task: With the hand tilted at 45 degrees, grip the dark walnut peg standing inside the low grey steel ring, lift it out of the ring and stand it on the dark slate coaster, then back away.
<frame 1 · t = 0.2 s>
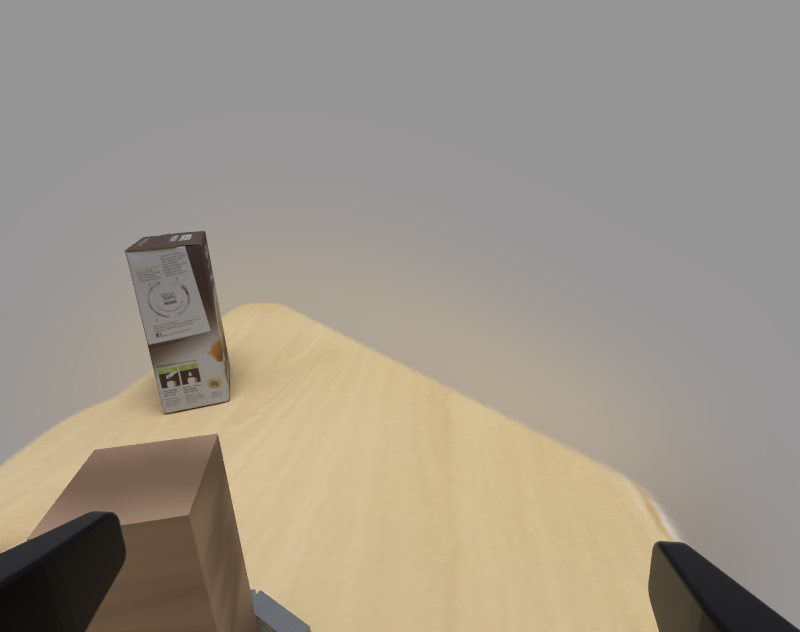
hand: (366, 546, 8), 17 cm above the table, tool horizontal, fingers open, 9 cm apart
walnut peg: (176, 621, 18), in the steel ring
coffee box: (200, 390, 51), on the table
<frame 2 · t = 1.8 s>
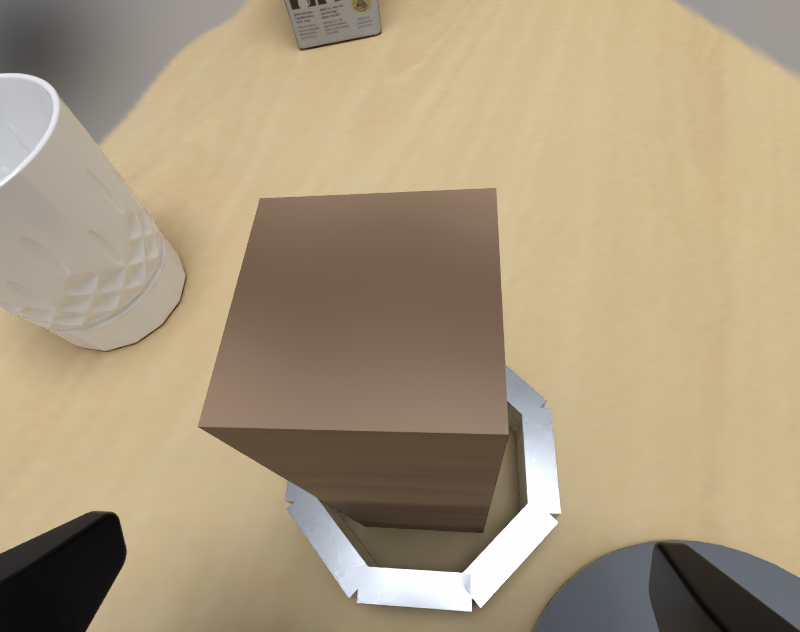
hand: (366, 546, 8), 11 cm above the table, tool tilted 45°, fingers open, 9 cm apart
walnut peg: (406, 418, 13), in the steel ring
white cup: (127, 296, 25), on the table
coffee box: (339, 12, 37), on the table
steel ring: (425, 469, 19), on the table
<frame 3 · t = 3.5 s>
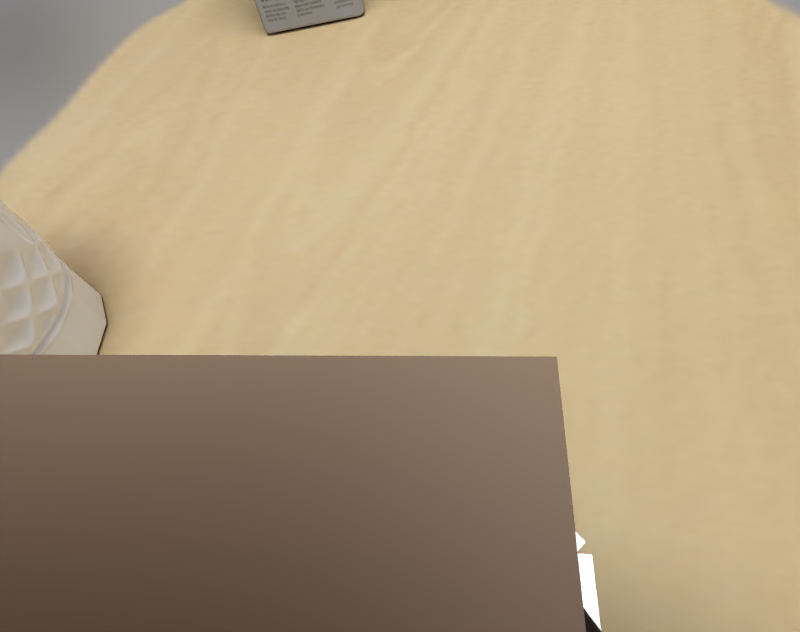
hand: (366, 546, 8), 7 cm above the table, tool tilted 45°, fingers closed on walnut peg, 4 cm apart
white cup: (33, 348, 20), on the table
steel ring: (408, 618, 13), on the table
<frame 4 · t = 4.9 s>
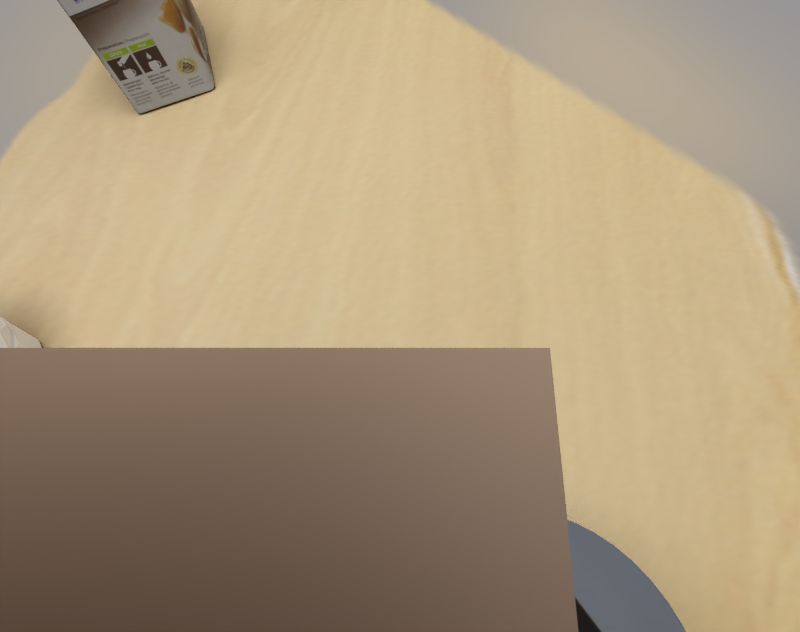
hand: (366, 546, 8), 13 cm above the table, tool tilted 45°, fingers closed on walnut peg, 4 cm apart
coffee box: (174, 71, 38), on the table
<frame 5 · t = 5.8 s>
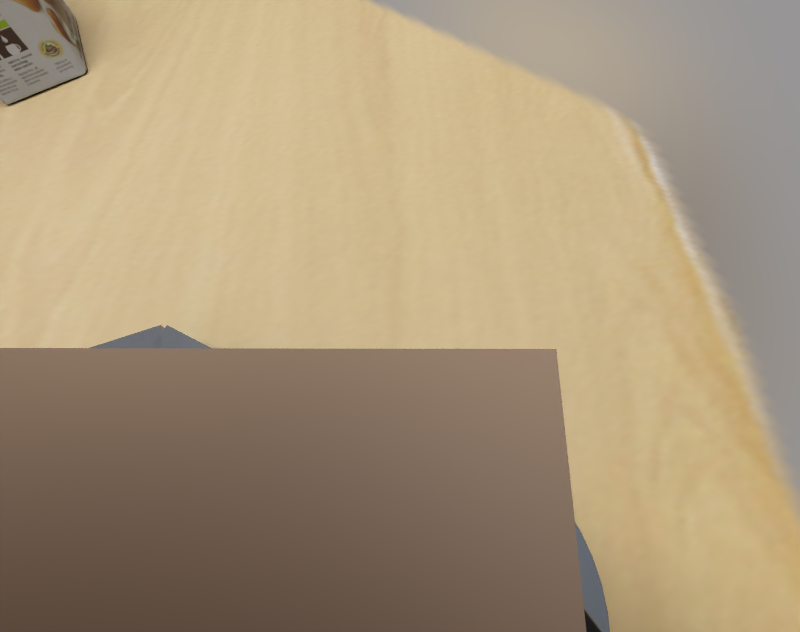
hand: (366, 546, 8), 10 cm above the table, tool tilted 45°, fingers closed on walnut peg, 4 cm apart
slate coaster: (419, 605, 16), on the table
coffee box: (46, 61, 37), on the table
steel ring: (158, 456, 20), on the table
when the fingers open (8 cm above the table, at t = 6.5 s): walnut peg stays where it is, resting on slate coaster.
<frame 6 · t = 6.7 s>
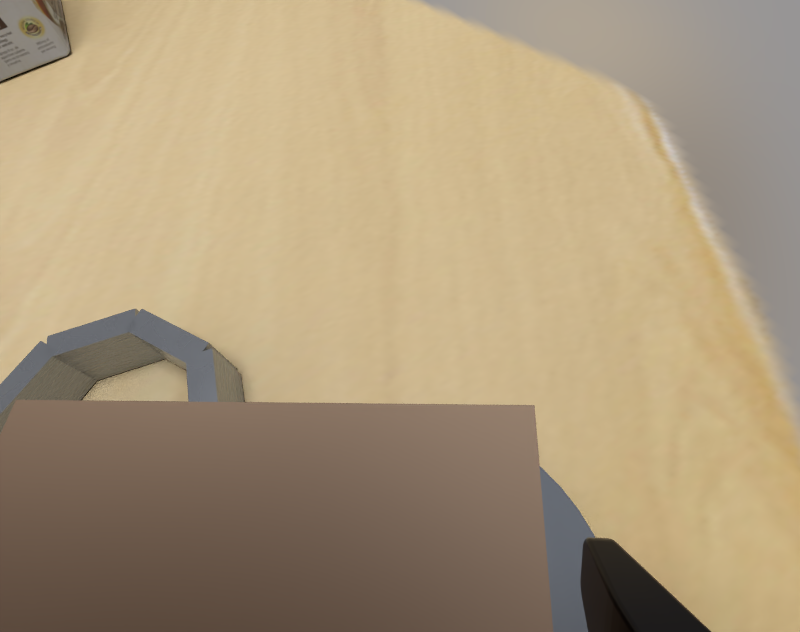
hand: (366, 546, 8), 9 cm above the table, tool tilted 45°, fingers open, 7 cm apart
slate coaster: (413, 614, 15), on the table
coffee box: (28, 43, 35), on the table
steel ring: (131, 451, 18), on the table
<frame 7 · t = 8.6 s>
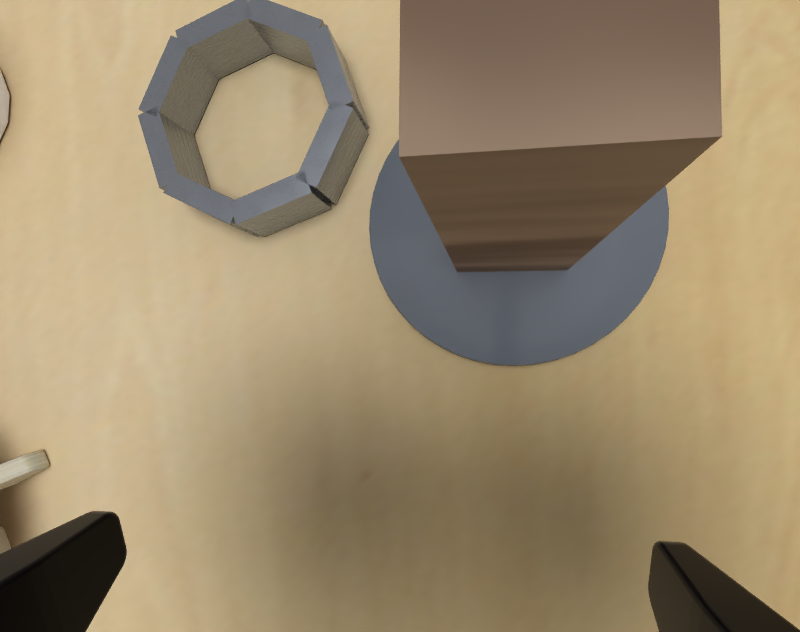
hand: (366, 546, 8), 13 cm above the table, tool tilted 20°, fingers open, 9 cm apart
walnut peg: (521, 160, 13), on the slate coaster, point 7 cm above the table
slate coaster: (510, 222, 20), on the table
steel ring: (268, 133, 23), on the table
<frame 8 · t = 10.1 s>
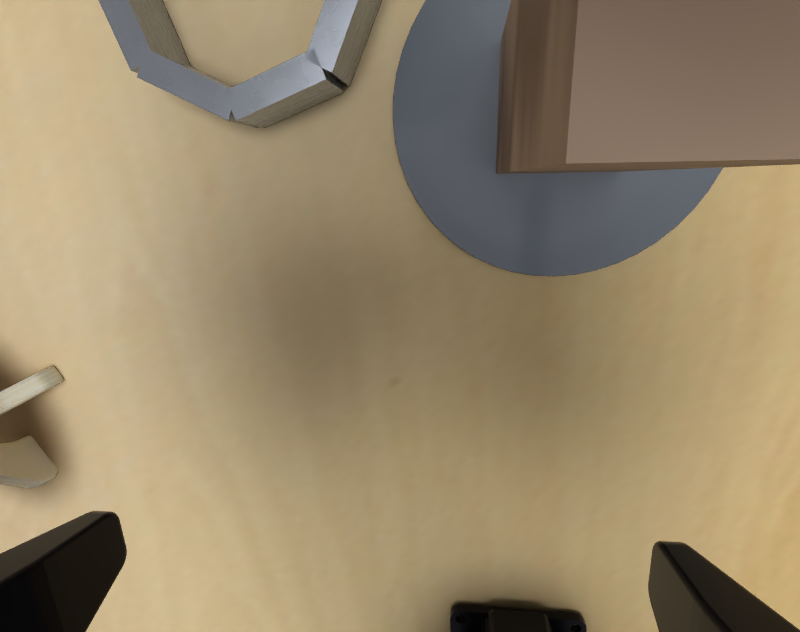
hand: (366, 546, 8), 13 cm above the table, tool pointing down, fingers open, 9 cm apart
walnut peg: (617, 66, 11), on the slate coaster, point 7 cm above the table
toy table: (6, 406, 25), on the table
slate coaster: (557, 111, 17), on the table
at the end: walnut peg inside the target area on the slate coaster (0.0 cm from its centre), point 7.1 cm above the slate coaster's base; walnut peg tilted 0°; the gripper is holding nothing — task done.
